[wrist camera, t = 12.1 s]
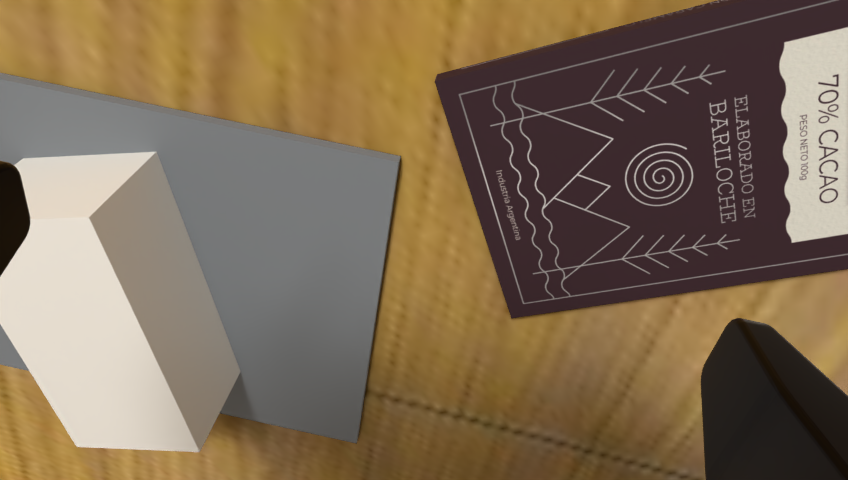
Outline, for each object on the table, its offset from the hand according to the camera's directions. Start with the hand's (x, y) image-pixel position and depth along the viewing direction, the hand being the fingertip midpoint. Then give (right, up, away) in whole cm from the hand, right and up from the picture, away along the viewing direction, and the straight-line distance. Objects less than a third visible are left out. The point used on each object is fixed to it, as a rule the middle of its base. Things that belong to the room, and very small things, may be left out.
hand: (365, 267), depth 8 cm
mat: (-10, -1, +17) cm, 20 cm away
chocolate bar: (+11, +3, +11) cm, 16 cm away
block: (-10, -1, +17) cm, 19 cm away
